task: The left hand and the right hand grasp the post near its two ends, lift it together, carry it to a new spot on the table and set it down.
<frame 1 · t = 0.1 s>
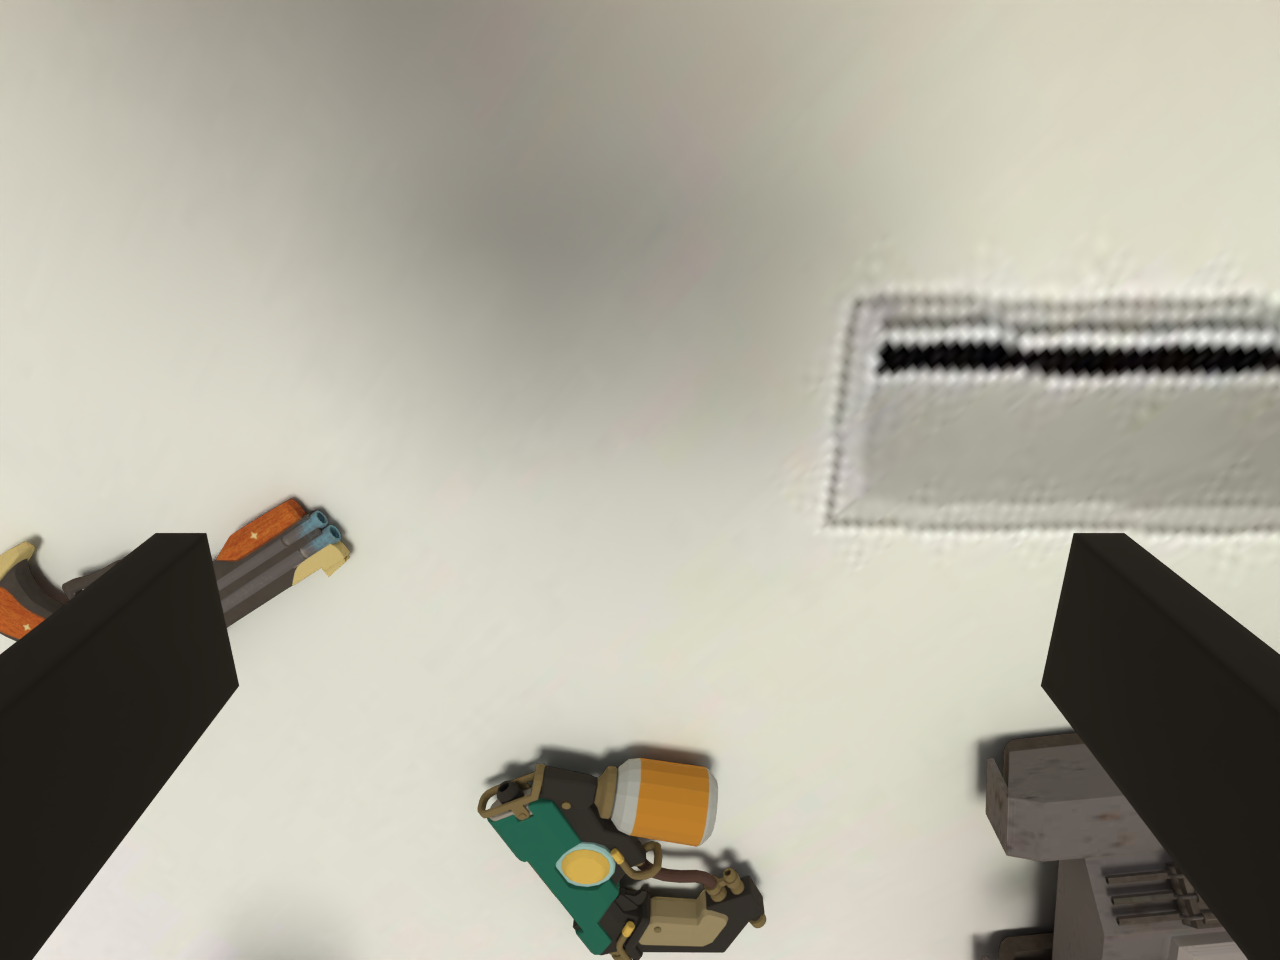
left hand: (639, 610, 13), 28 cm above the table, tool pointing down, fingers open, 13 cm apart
toy: (1177, 843, 51), on the table
spray gun: (628, 841, 51), on the table
toy gun: (164, 564, 44), on the table
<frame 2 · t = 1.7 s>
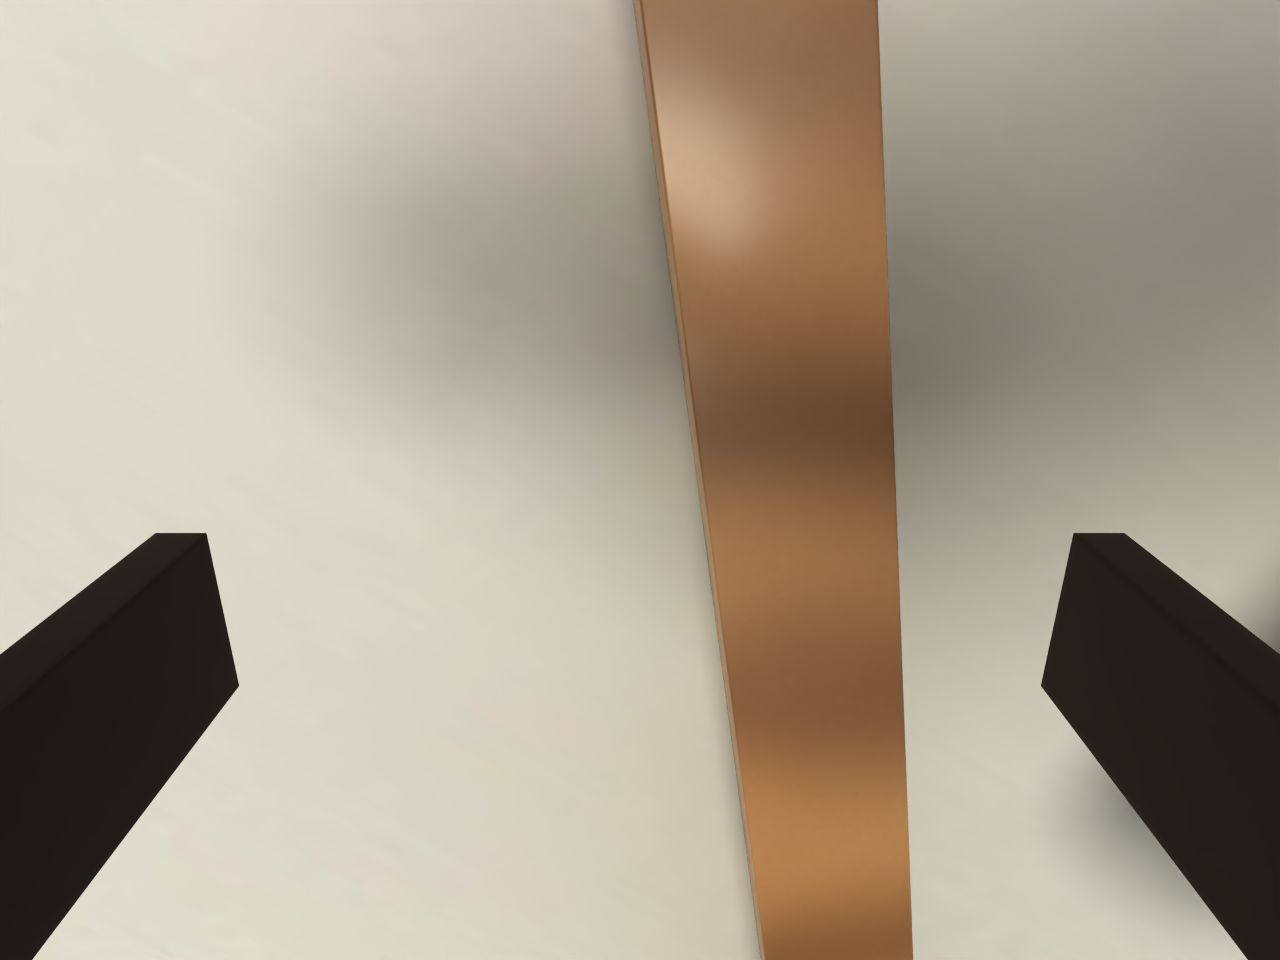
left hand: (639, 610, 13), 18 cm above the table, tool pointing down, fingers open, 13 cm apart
post: (799, 792, 36), on the table
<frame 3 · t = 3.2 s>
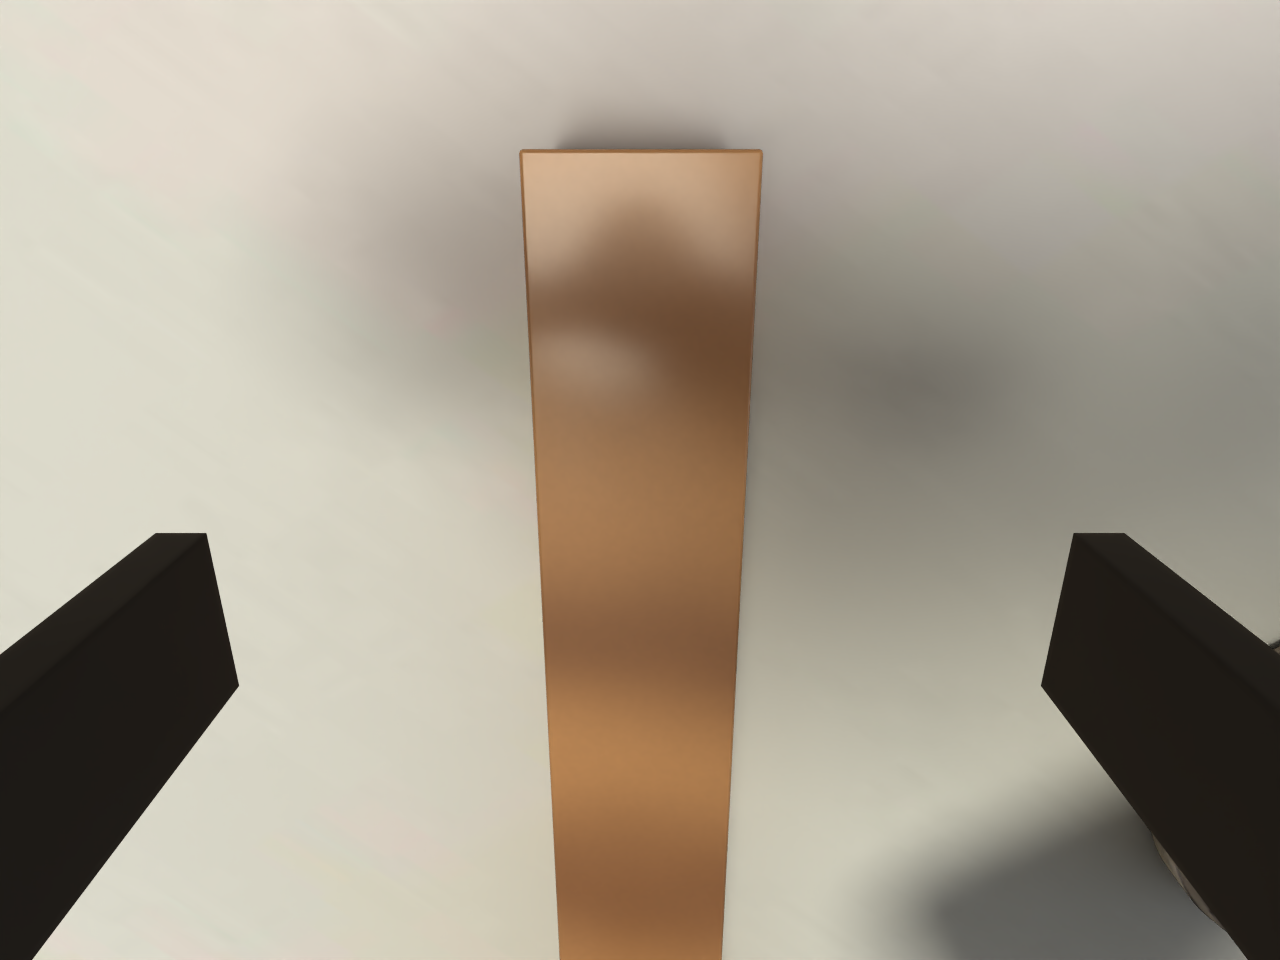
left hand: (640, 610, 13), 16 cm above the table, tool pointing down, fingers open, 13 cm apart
post: (640, 928, 37), on the table, touching right hand
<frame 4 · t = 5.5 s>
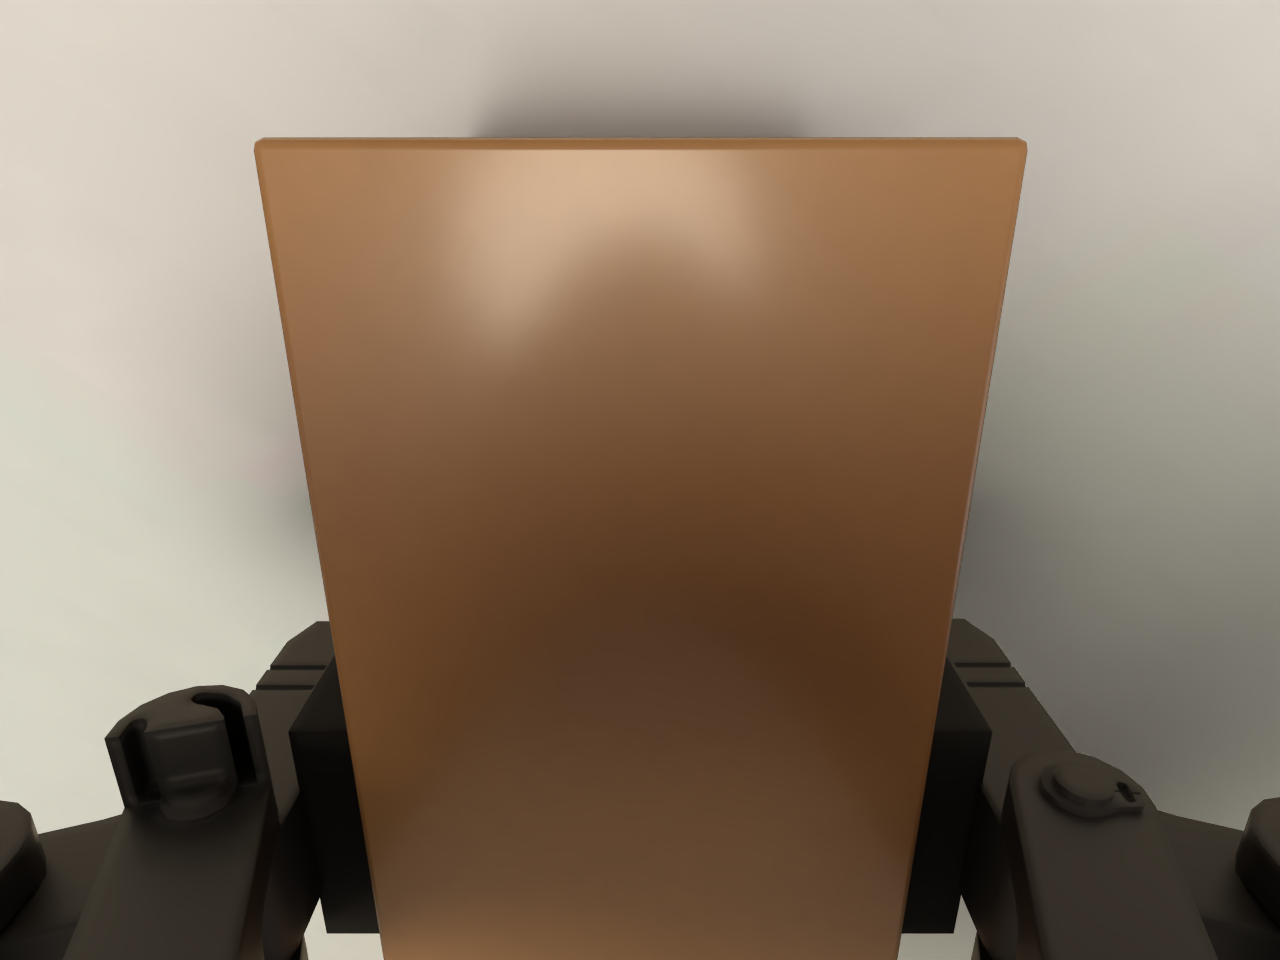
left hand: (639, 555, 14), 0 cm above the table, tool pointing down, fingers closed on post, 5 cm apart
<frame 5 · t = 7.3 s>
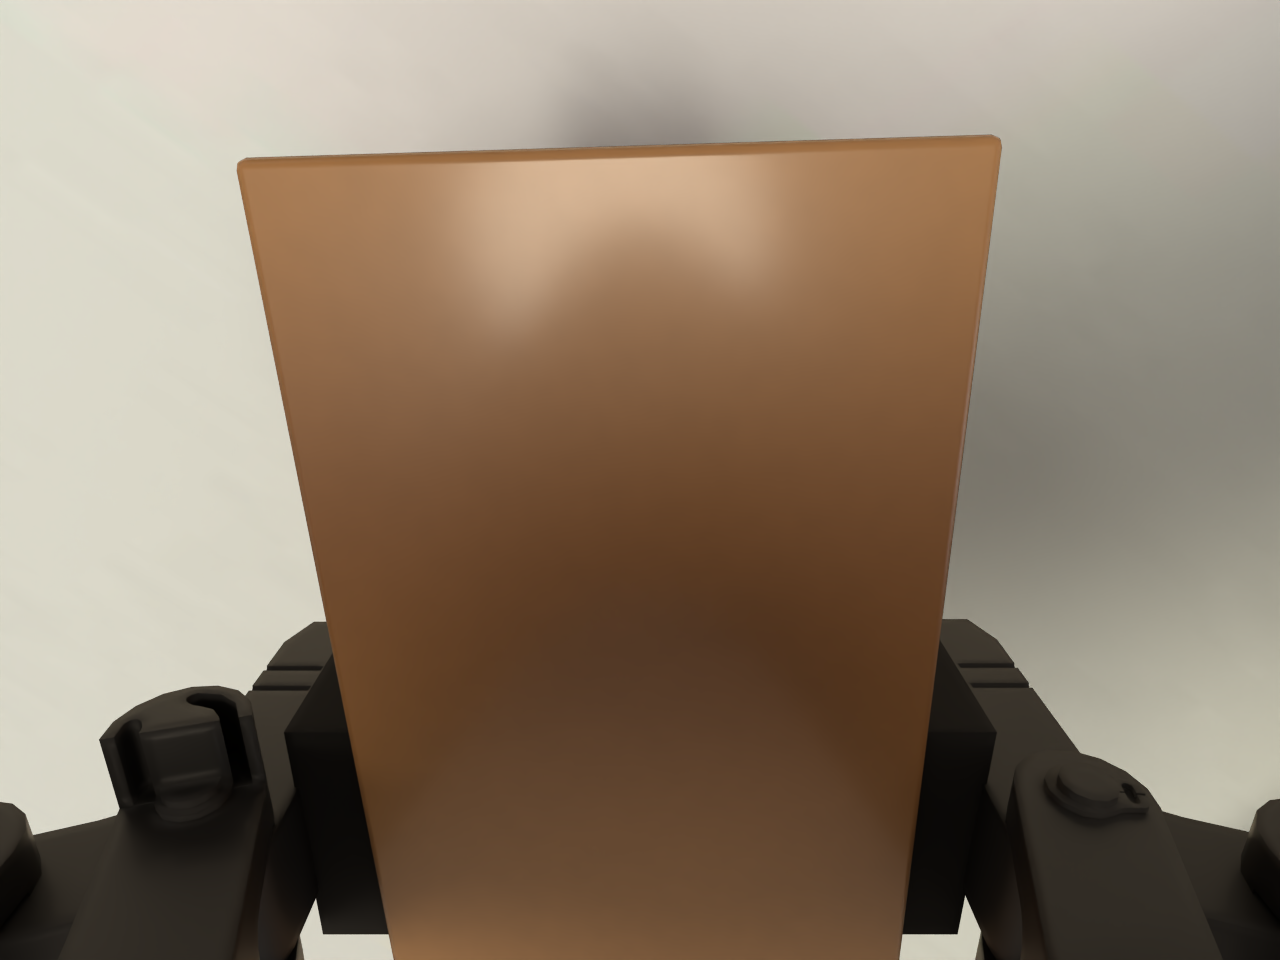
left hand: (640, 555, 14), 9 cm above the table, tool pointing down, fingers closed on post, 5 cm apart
when the left hand's fingers open (2 cm above the table, at t = 9.6 s): post drops 2 cm, on the table.
when the right hand's fingers open (2 cm above the table, at t = 9.6 s): post drops 2 cm, on the table.
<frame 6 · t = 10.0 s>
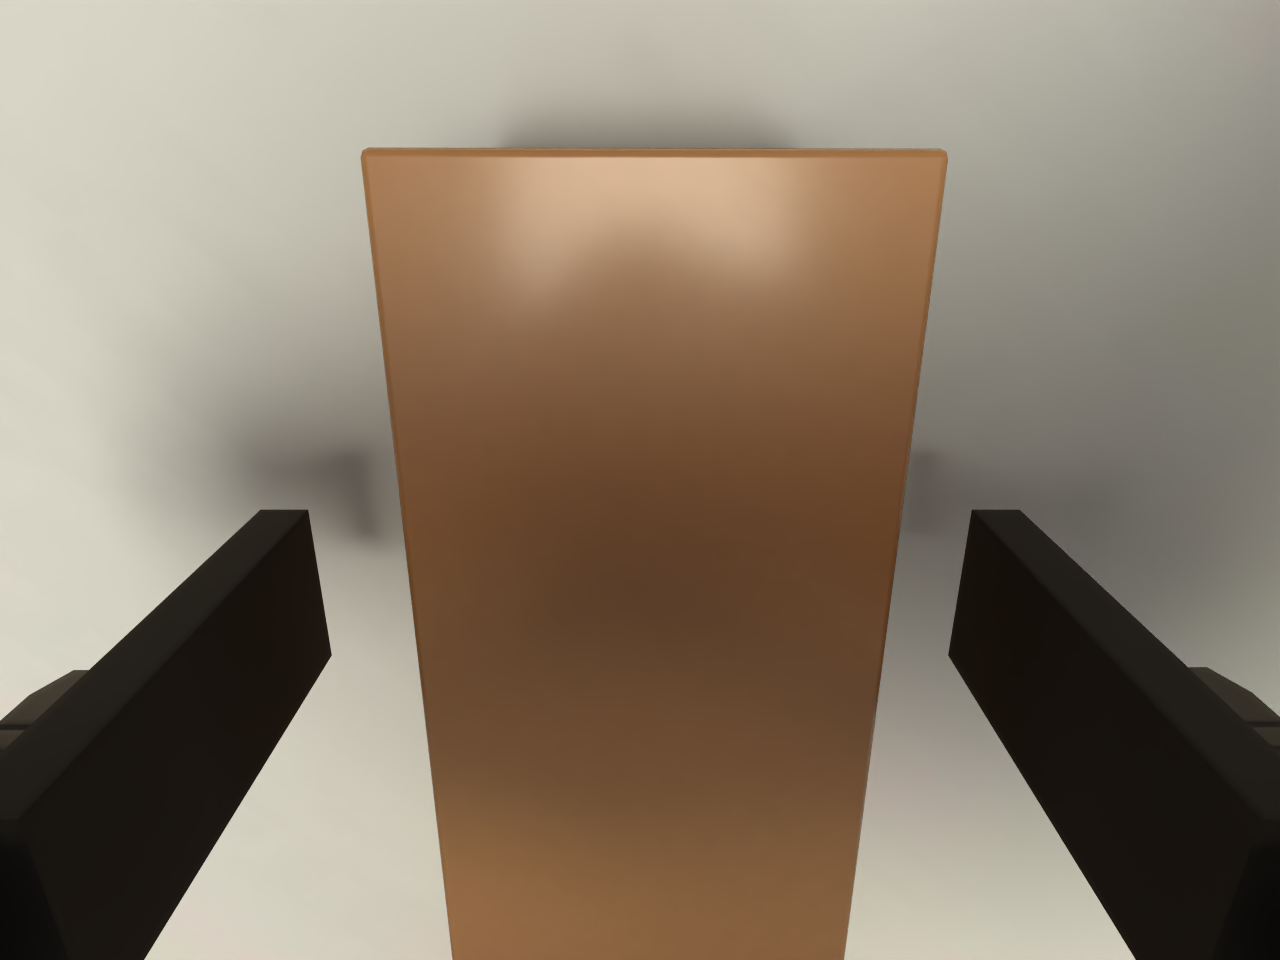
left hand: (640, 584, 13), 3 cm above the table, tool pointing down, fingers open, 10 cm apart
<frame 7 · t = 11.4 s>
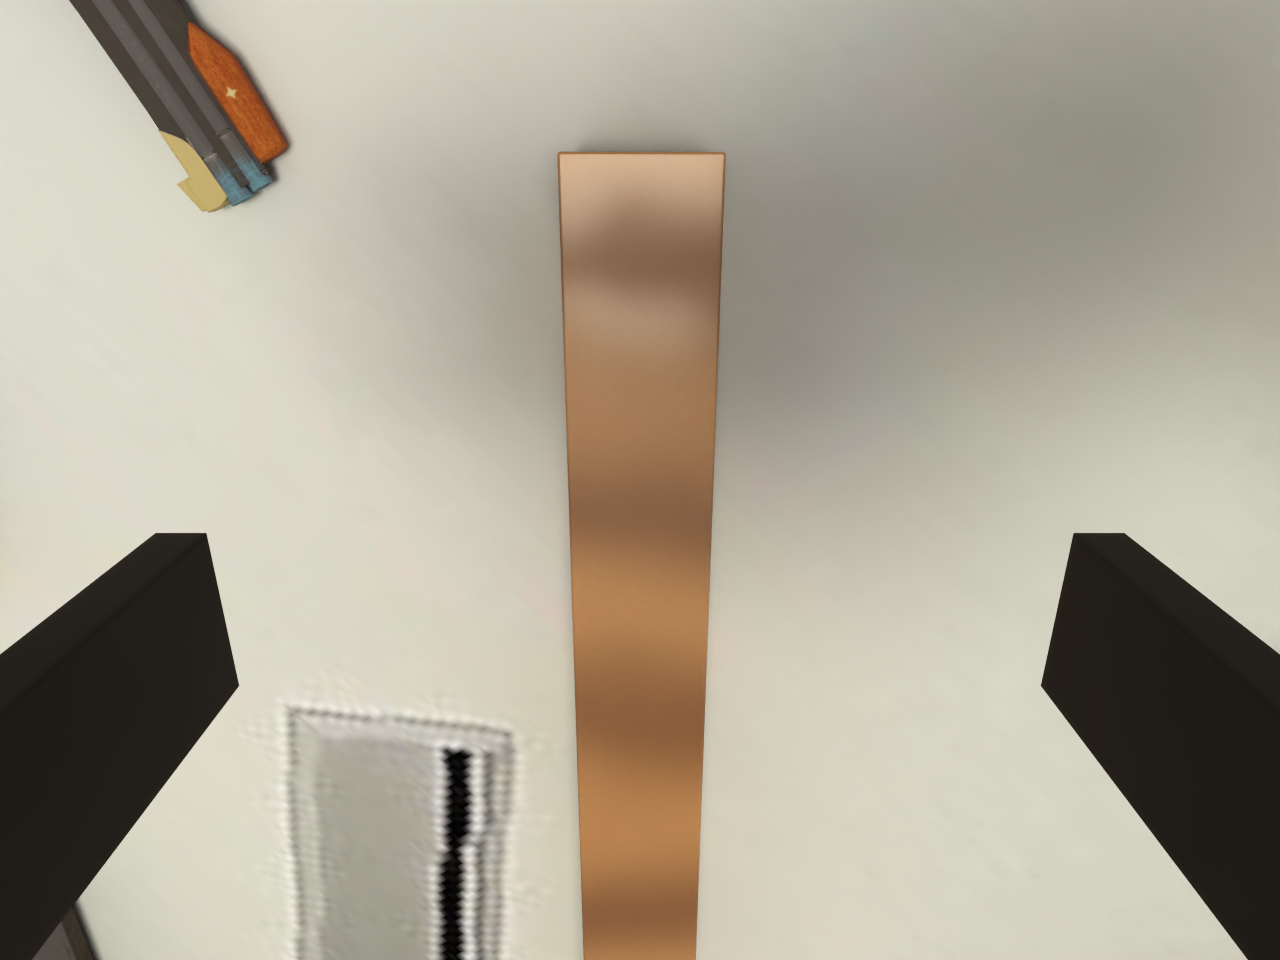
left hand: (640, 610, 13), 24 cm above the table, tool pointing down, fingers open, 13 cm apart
post: (639, 789, 45), on the table
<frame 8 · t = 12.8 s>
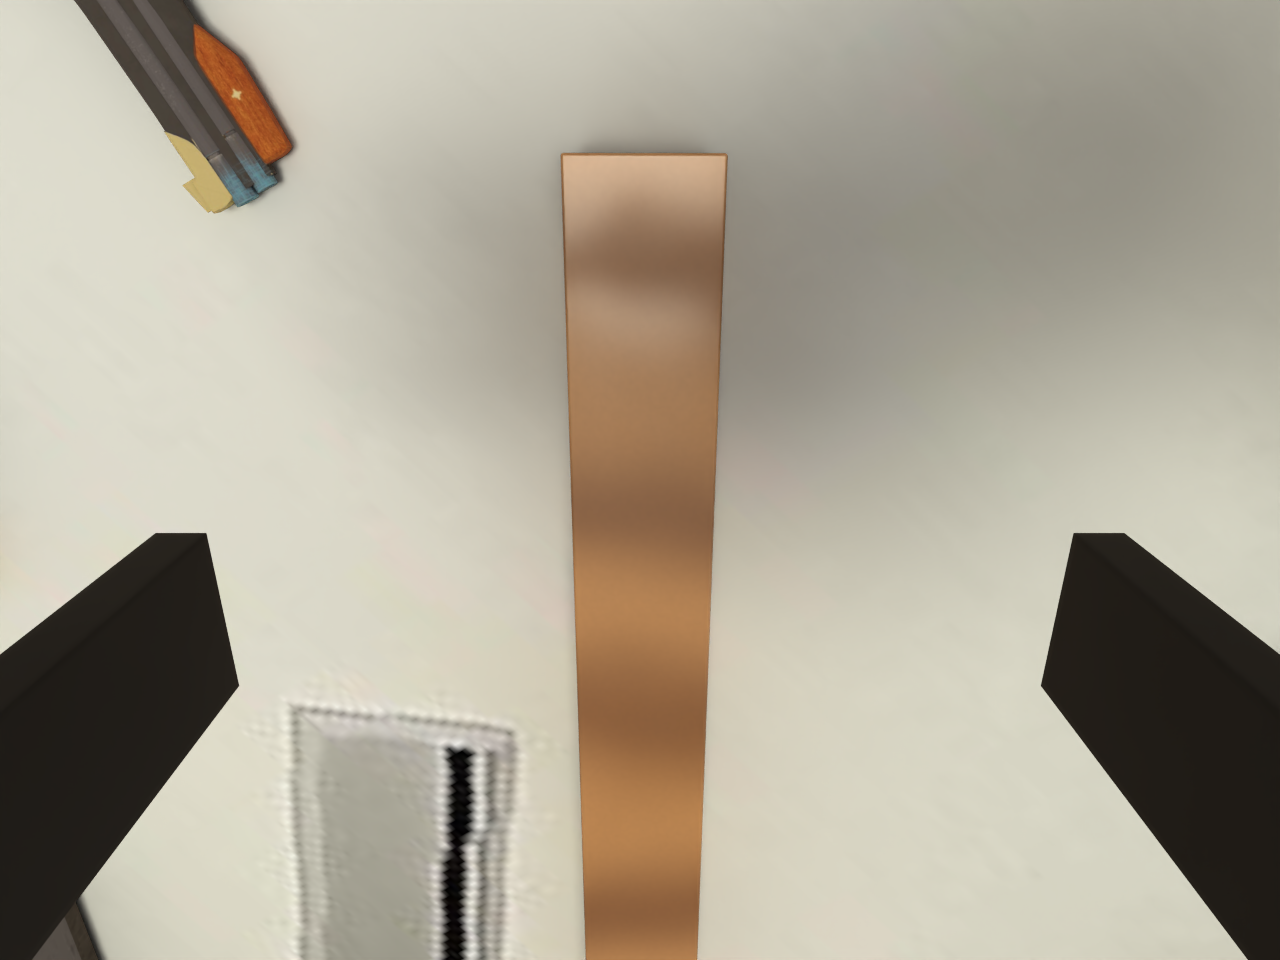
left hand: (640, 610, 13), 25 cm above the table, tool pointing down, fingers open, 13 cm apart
post: (641, 788, 45), on the table
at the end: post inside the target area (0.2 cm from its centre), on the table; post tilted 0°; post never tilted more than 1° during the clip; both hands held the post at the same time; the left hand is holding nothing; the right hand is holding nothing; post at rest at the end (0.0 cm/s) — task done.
